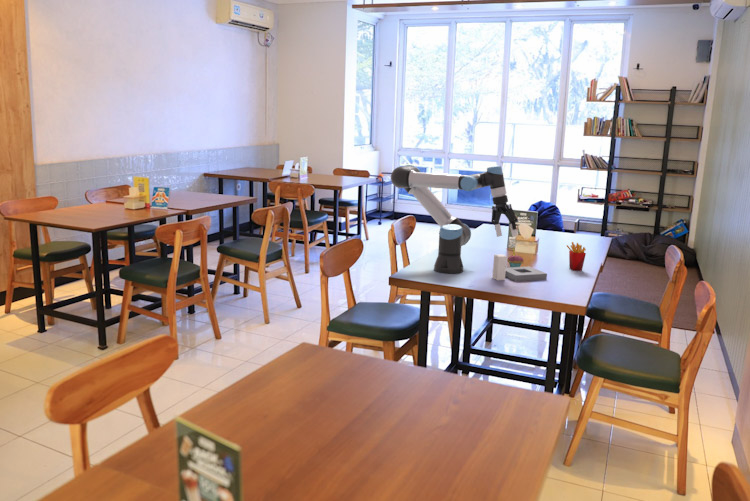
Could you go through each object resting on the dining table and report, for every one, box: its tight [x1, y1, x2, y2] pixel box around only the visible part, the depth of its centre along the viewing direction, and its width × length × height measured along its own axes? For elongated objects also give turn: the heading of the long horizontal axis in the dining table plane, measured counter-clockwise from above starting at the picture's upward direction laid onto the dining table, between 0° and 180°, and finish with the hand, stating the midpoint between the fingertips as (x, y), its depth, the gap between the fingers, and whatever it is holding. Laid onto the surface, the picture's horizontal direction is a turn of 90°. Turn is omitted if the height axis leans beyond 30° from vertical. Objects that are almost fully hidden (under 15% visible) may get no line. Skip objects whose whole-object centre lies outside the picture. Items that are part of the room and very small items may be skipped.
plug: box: [491, 253, 508, 281], centre depth 318 cm, size 4×4×12 cm
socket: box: [505, 266, 548, 282], centre depth 326 cm, size 18×16×3 cm
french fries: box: [566, 241, 587, 272], centre depth 343 cm, size 9×8×15 cm
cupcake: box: [506, 246, 525, 267], centre depth 342 cm, size 9×8×12 cm
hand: (507, 236), depth 331 cm, fingers open, 13 cm apart
